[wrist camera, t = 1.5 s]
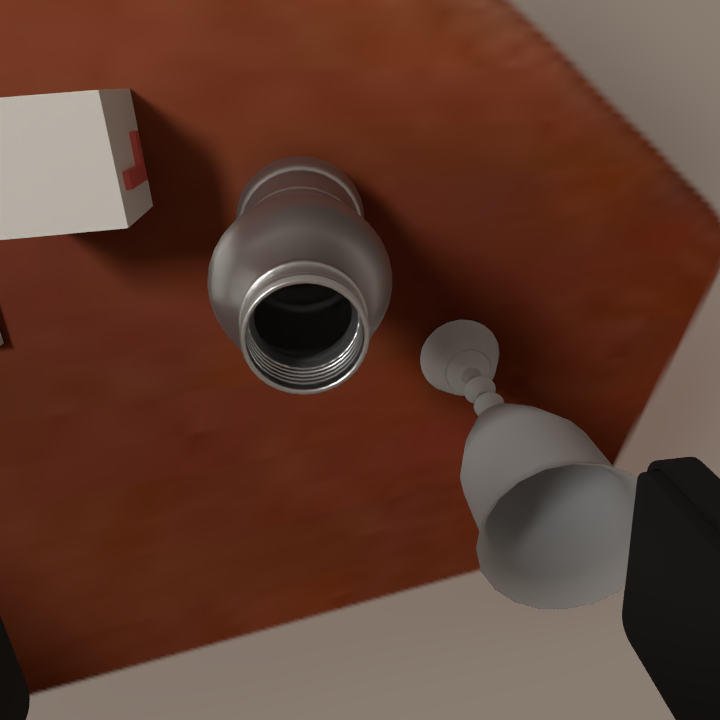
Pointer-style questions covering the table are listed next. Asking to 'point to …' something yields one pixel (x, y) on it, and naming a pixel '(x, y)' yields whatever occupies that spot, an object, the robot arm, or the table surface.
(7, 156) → the lettered cube
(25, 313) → the table surface
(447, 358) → the chalice
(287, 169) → the metal bottle
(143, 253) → the table surface
